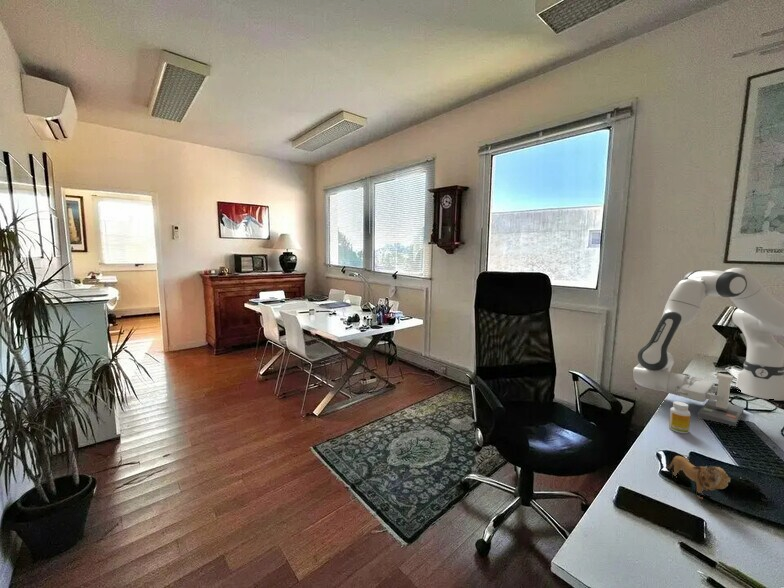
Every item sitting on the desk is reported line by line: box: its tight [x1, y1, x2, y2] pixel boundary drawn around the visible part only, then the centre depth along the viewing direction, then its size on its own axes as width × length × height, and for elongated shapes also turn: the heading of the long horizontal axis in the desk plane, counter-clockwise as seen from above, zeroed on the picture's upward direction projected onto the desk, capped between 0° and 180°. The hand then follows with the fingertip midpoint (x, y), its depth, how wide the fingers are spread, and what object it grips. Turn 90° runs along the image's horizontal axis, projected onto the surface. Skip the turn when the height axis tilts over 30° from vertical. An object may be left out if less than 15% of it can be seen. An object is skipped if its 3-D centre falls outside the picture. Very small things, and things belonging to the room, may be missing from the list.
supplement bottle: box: [668, 400, 691, 434], centre depth 116 cm, size 5×5×10 cm
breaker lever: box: [715, 372, 734, 411], centre depth 127 cm, size 4×4×13 cm
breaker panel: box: [697, 399, 745, 427], centre depth 128 cm, size 20×10×2 cm, turn 127°
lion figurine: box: [666, 455, 731, 500], centre depth 87 cm, size 15×5×9 cm, turn 16°
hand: (726, 395), depth 127 cm, fingers open, 8 cm apart
